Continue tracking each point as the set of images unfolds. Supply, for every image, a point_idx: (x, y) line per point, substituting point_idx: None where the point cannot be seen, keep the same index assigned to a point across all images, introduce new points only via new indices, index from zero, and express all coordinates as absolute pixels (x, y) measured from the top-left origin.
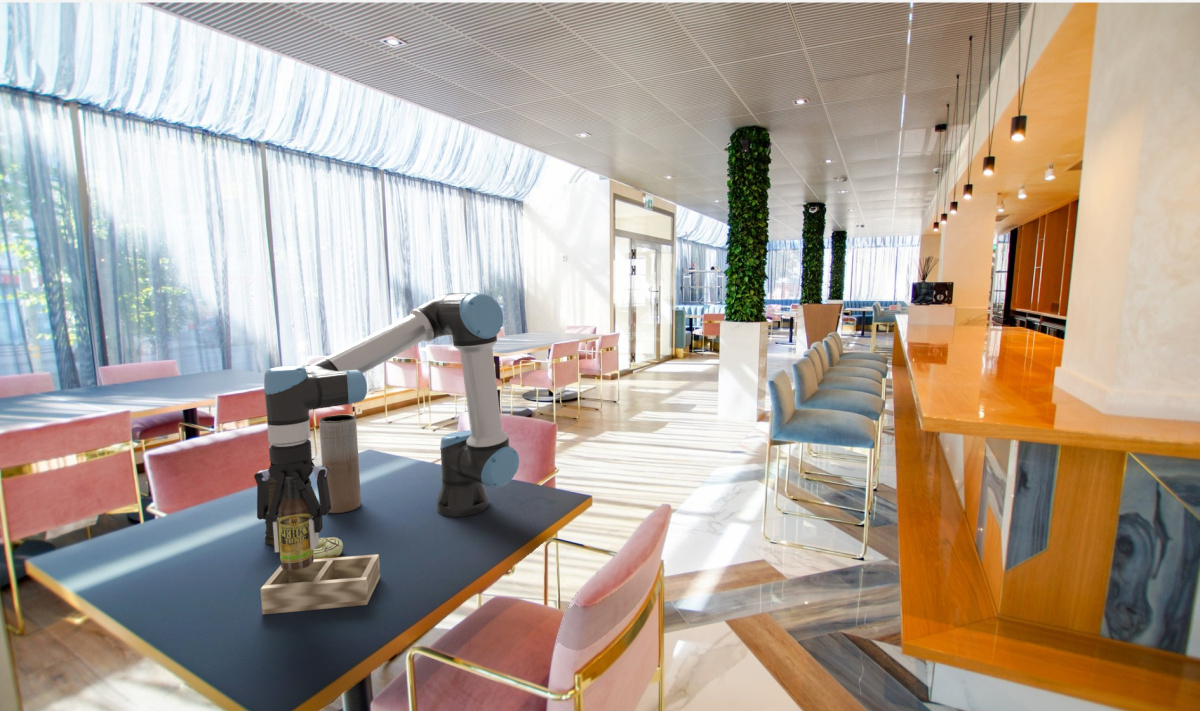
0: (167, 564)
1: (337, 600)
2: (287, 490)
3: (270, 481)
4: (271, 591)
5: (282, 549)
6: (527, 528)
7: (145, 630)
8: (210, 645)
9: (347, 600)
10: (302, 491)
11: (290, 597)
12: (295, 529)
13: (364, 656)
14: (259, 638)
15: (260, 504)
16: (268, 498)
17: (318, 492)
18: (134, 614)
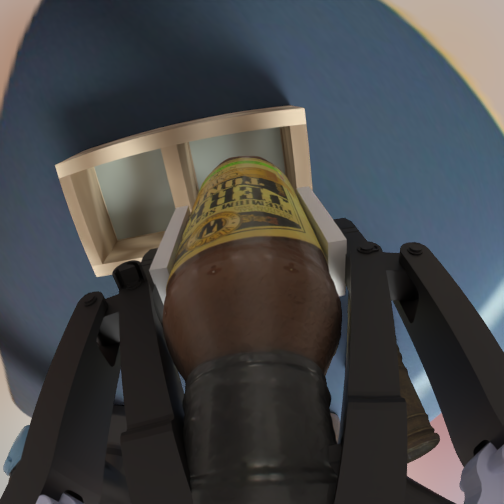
0: (493, 277)
1: (128, 137)
2: (282, 417)
3: (422, 437)
4: (275, 110)
5: (273, 174)
6: (16, 364)
7: (461, 91)
8: (331, 15)
9: (110, 142)
10: (161, 413)
11: (228, 115)
12: (211, 208)
13: (31, 23)
14: (244, 25)
15: (447, 294)
16: (421, 355)
17: (67, 396)
18: (492, 144)
